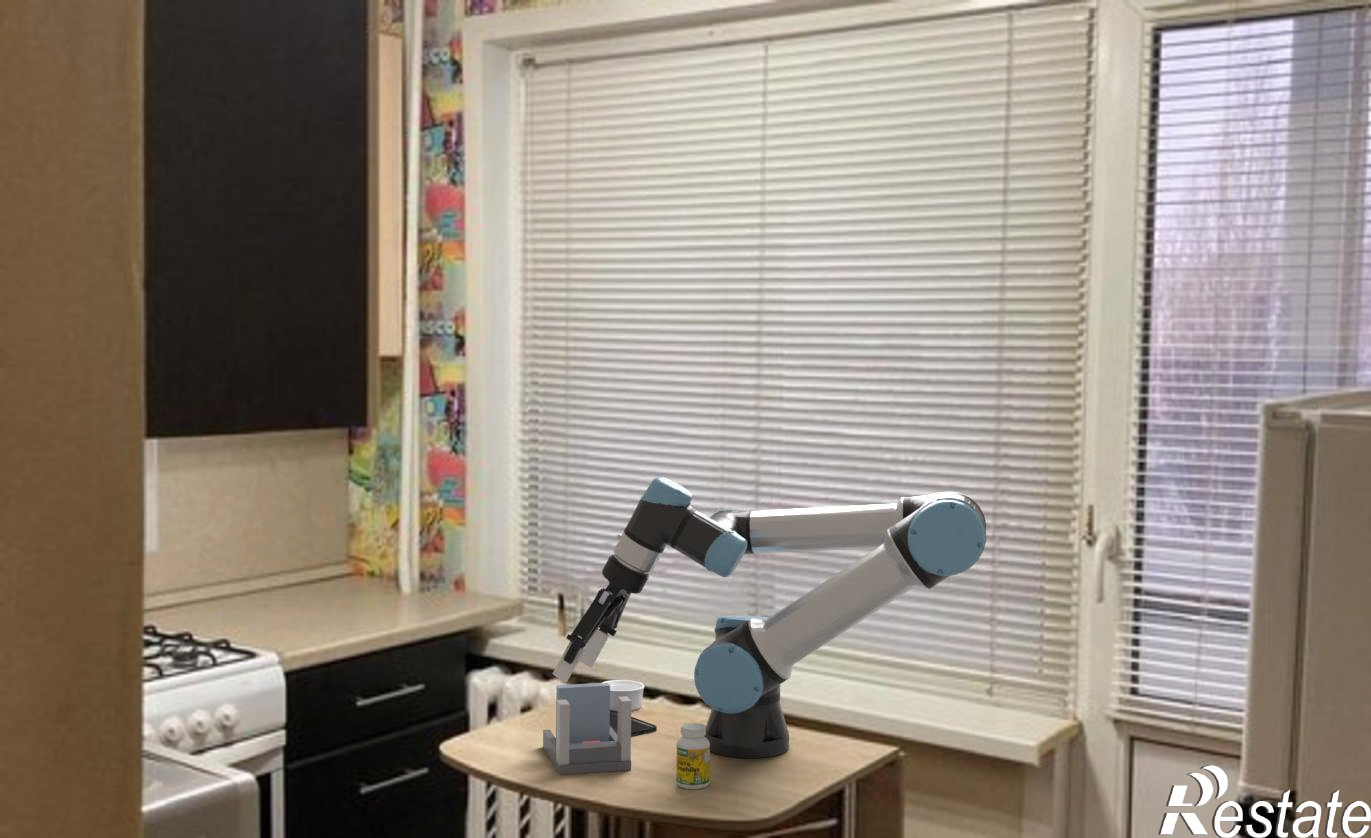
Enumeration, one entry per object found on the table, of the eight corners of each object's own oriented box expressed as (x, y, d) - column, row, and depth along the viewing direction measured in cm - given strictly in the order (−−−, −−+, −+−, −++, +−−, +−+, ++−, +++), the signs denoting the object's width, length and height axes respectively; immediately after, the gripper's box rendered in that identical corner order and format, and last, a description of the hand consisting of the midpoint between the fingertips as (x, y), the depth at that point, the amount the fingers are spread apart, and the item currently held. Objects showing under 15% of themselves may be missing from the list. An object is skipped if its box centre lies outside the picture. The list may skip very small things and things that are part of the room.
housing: (542, 746, 240) (543, 681, 239) (610, 742, 243) (610, 678, 242) (559, 774, 224) (560, 705, 224) (631, 769, 228) (632, 701, 227)
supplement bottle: (714, 781, 222) (715, 723, 222) (702, 791, 217) (703, 732, 217) (683, 777, 224) (684, 719, 224) (670, 787, 219) (671, 728, 219)
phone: (610, 708, 262) (659, 726, 251) (610, 714, 262) (659, 732, 251) (576, 715, 257) (625, 733, 246) (576, 721, 257) (625, 739, 246)
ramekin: (602, 699, 272) (602, 678, 272) (646, 701, 271) (647, 680, 271) (595, 711, 263) (595, 689, 263) (640, 713, 262) (641, 691, 262)
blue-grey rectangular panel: (555, 742, 236) (556, 685, 236) (606, 739, 239) (607, 682, 238) (557, 745, 234) (558, 688, 234) (609, 742, 237) (610, 685, 236)
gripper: (632, 545, 244) (577, 646, 246) (590, 559, 220) (529, 671, 222) (668, 566, 242) (612, 668, 245) (629, 583, 218) (567, 696, 221)
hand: (572, 670), depth 234 cm, fingers open, 13 cm apart
